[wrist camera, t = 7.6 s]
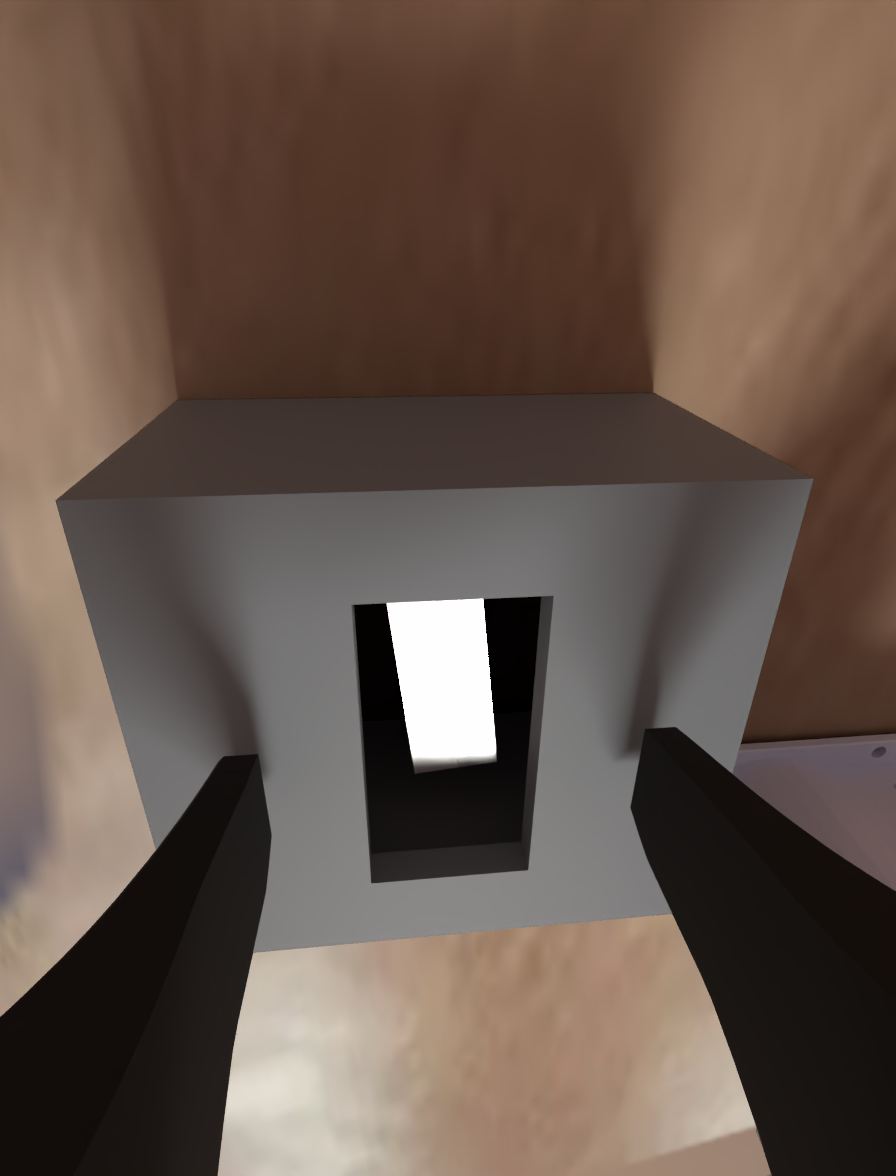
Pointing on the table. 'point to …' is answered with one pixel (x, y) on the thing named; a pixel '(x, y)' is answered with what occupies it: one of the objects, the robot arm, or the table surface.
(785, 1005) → the robot arm
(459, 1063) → the table surface
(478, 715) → the block
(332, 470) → the coin box
